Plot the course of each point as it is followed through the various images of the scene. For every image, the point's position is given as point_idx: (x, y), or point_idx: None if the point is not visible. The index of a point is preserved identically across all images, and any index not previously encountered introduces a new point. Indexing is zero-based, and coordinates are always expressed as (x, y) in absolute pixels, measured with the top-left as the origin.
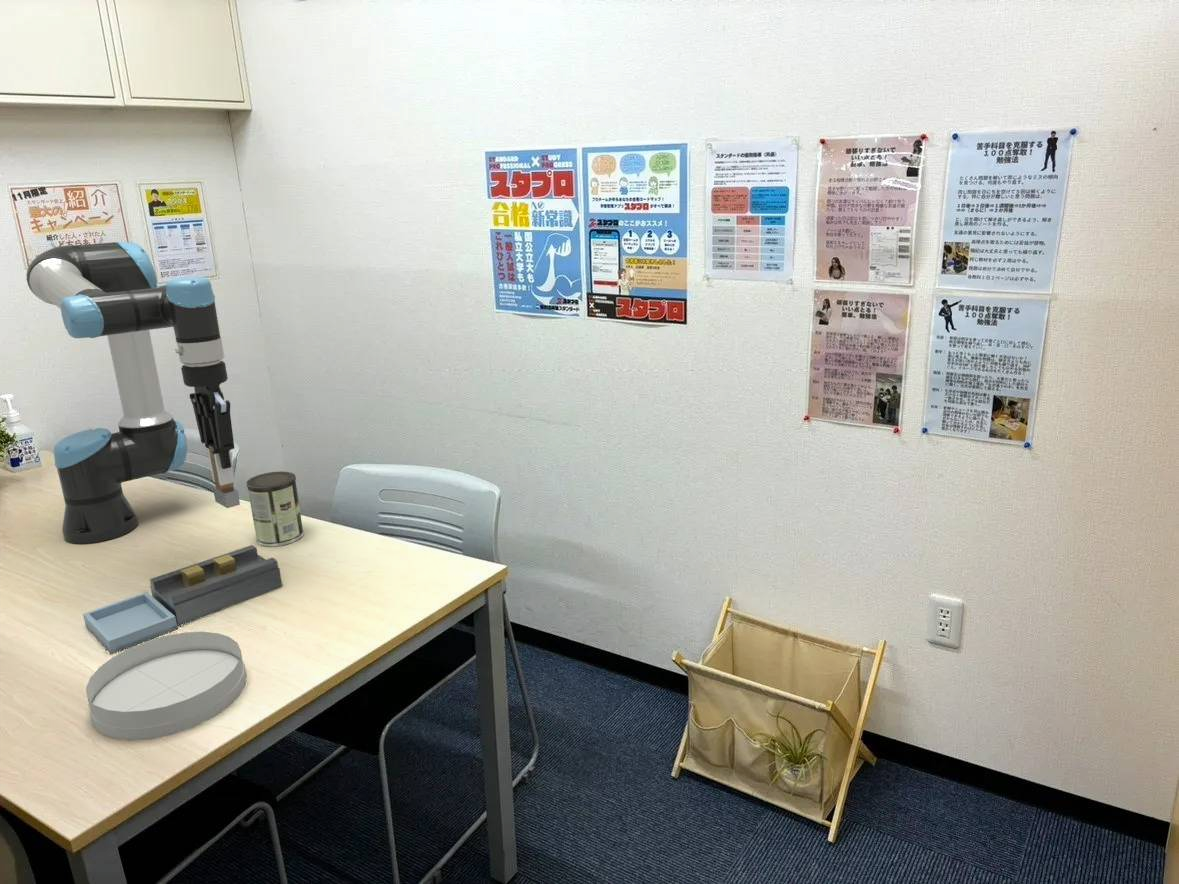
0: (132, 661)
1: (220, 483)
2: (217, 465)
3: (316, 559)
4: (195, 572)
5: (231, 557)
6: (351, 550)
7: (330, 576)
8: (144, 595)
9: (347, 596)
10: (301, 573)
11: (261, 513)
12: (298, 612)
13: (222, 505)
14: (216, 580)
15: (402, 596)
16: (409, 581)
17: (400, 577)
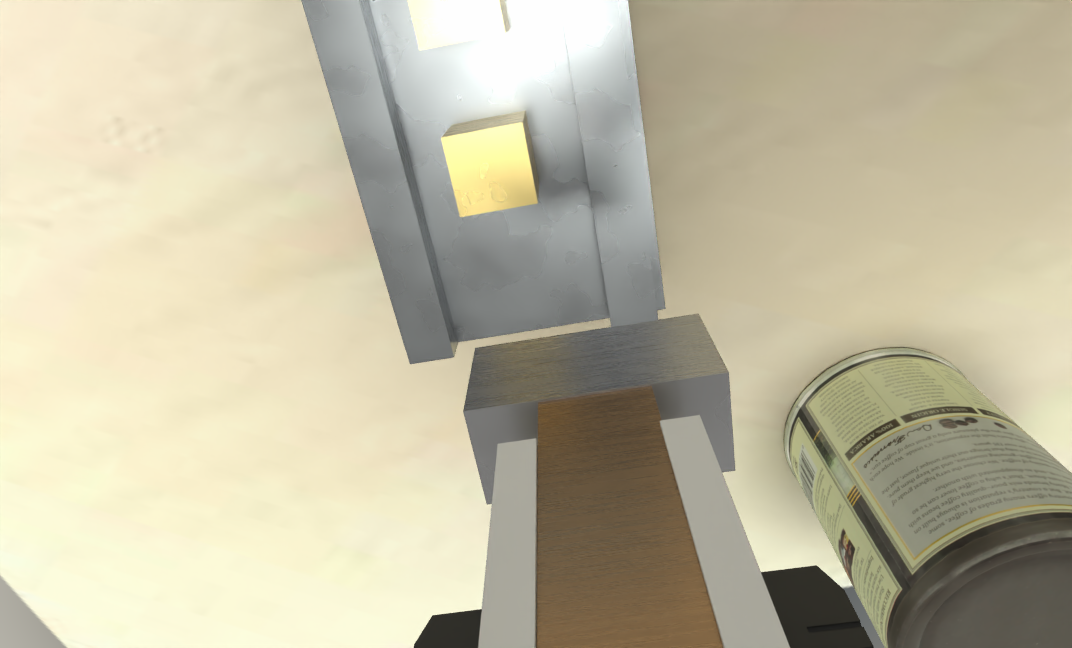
0: None
1: (508, 454)
2: (485, 611)
3: None
4: (409, 3)
5: (486, 208)
6: None
7: (401, 460)
8: None
9: (219, 454)
10: None
11: (897, 455)
12: (179, 301)
13: (560, 335)
14: (345, 88)
15: (140, 565)
16: (229, 609)
17: (269, 602)
